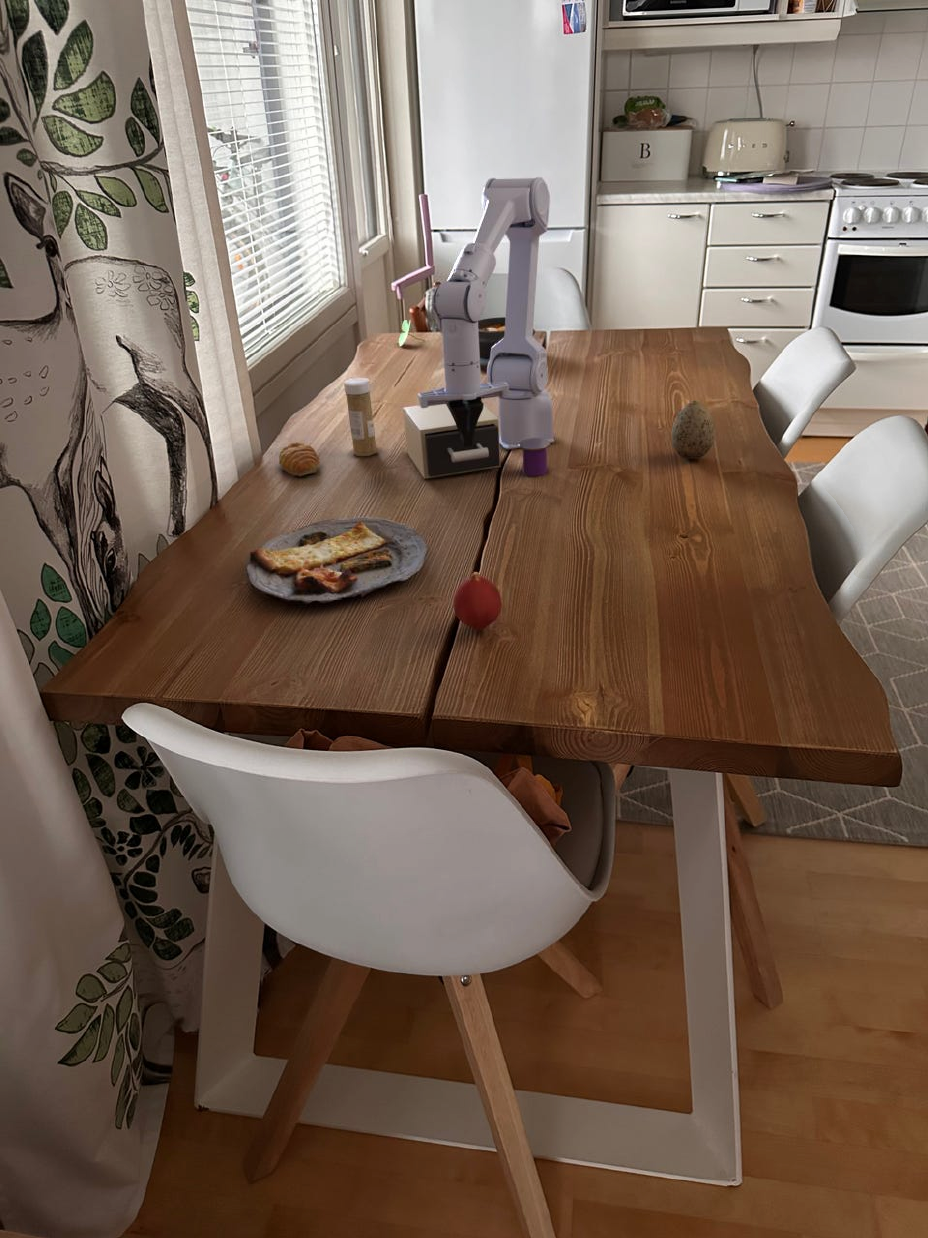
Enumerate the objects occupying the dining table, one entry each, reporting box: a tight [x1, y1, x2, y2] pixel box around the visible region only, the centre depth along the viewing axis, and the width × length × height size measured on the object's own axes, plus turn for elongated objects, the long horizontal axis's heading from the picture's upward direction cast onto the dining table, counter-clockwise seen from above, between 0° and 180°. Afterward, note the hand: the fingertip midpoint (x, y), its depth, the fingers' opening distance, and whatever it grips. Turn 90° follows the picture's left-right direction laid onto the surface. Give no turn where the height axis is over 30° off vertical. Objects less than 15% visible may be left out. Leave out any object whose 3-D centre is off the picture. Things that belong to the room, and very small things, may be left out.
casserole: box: [478, 316, 536, 367], centre depth 220 cm, size 25×19×8 cm
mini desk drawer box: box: [402, 404, 501, 479], centre depth 163 cm, size 14×14×9 cm
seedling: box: [398, 319, 426, 347], centre depth 241 cm, size 7×8×6 cm
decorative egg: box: [670, 400, 716, 460], centre depth 156 cm, size 7×7×10 cm
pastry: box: [278, 442, 320, 477], centre depth 164 cm, size 9×7×4 cm
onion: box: [452, 571, 503, 632], centre depth 111 cm, size 6×6×8 cm
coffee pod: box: [519, 438, 551, 477], centre depth 156 cm, size 5×5×5 cm
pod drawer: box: [425, 425, 501, 477], centre depth 159 cm, size 17×12×7 cm
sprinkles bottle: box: [343, 377, 378, 457], centre depth 168 cm, size 5×5×14 cm
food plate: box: [245, 516, 428, 606], centre depth 129 cm, size 25×23×4 cm
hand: (466, 444), depth 152 cm, fingers closed
